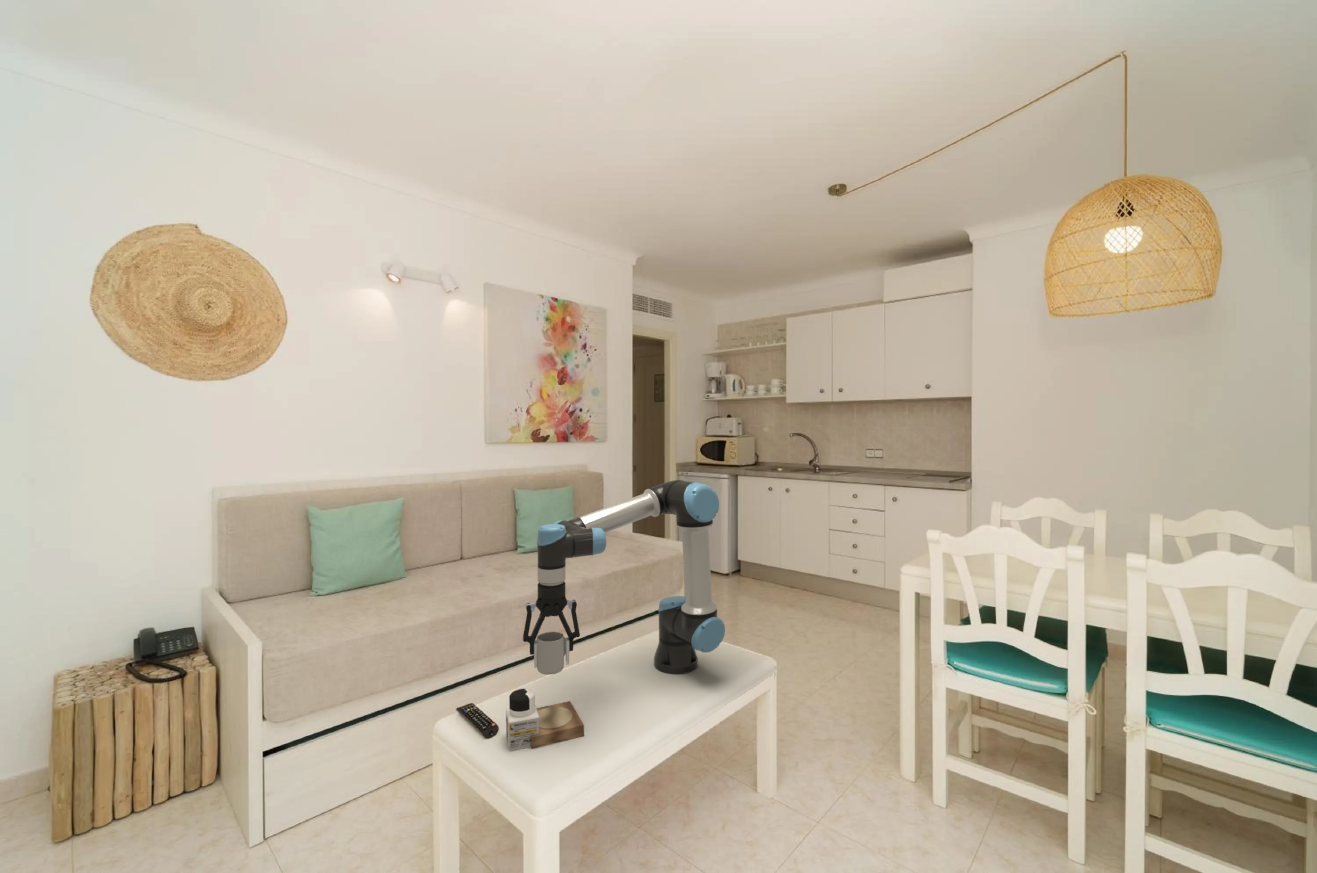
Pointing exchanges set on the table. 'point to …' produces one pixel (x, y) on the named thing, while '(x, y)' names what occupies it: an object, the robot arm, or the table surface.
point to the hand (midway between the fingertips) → (551, 663)
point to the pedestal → (557, 724)
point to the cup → (550, 652)
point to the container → (521, 719)
